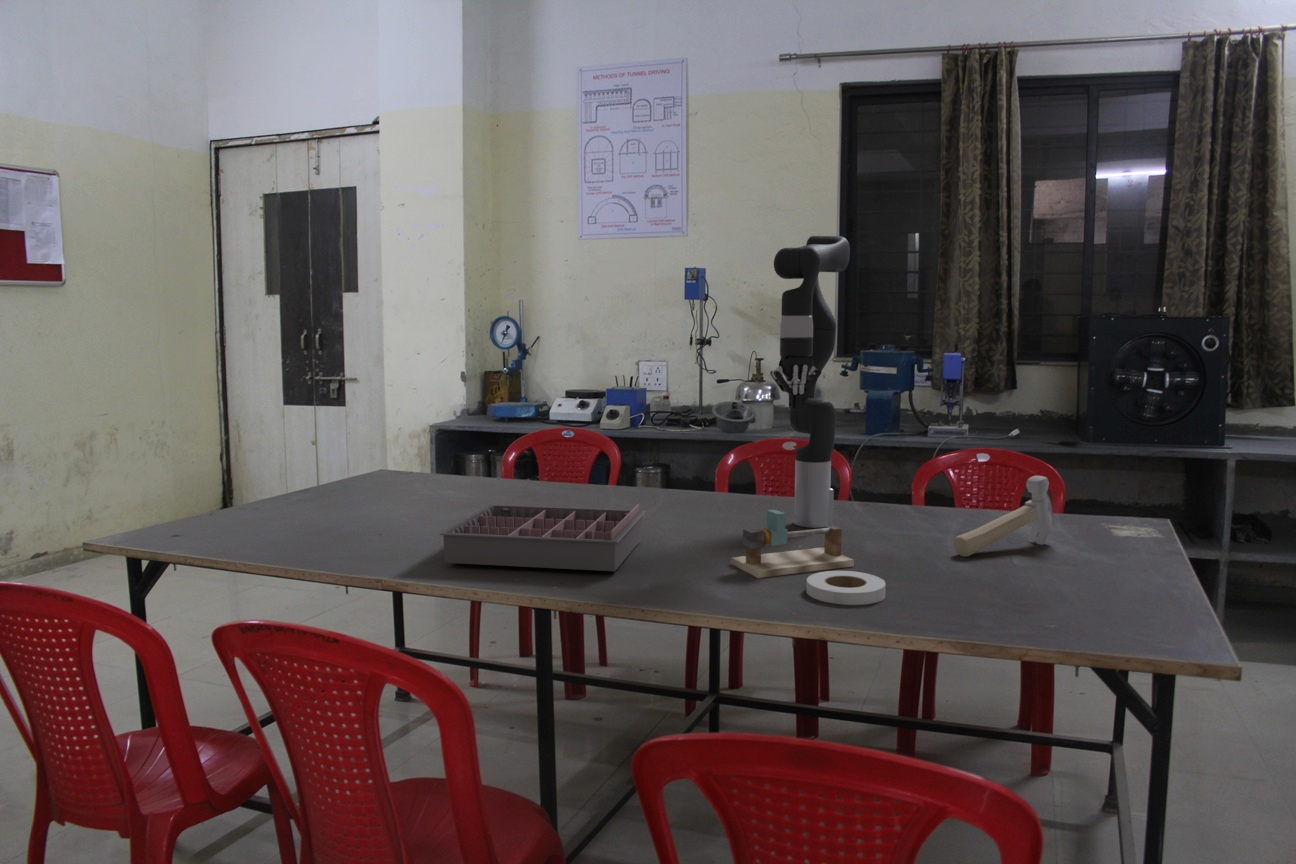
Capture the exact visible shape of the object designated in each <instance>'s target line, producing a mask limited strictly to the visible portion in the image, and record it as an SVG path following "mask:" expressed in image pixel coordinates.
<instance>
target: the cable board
mask: <svg viewBox="0 0 1296 864" xmlns="http://www.w3.org/2000/svg"><path fill="white" fill-rule="evenodd" d="M842 530H843V529H842V527H838V526H836V525H834V524H833V525H829V526H825V527H821V528H813V529H812V528H811V529H804V530H795V531H788V533H787V539H788V538H795V537H806V536H807V537H808V536H816V535H824V547H814V548H813V547H812V548H805V549H804V548H803V549H795V550H787V551H780V552H779V551H778V552H771V553H770V552H769V553H762V549H764V548H765V546H770V545H769V544H770V543H771V533H770V531H769V530H768V529H764V528H762V529H759V528H757V527H751V528H743V530H742V532H743V533H742V546H744V547H745V555H743V556H733V557H731V559H730V560H731V561H730V562H731V566H734V567H736V568H738V569H739V570H741V571H744V572H745V573H747V574H749V575H751V576H753V577H755V578H757V579H761V578H769V577H778V576H785V575H792V574H802V573H810V572H811V573H812V572H818V571H829V570H832V569H833V570H834V569H841V568H843V569H844V568H851V567H854V566H855V565H854V564H855V560H854V558H850V557H848V556H846V555H844V554H842Z"/></svg>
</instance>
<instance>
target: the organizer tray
mask: <svg viewBox="0 0 1296 864" xmlns="http://www.w3.org/2000/svg"><path fill="white" fill-rule="evenodd" d="M646 513H647V511H646V510H640V503H637V504H636V505H635V506H634V507H633V508H632V509H609V508H585V507H582V508H581V507H560V506H559V507H556V506H554V507H553V506H533V505H532V506H531V505H530V506H529V505H510V504H507V505H506V504H505V505H503V504H490V505H488V506H486V507H484V508H482V509H480V510H479V511H477V512H475V513H474V514H472V515H470V516H469V517H466V518H465V519H463V520H462V521H459V522H458V523H456V524H454V525H453V526H451V527H449V528H447V529H445V530H444V531H442V532H440V533H439V536H442V537H443V563H444V564H445V563H447V564H464V565H465V564H466V565H480V566H481V565H484V566H503V567H521V568H522V567H523V568H525V567H526V568H543V569H544V568H545V569H562V570H580V571H582V570H583V571H585V570H586V571H598V572H599V571H600V572H601V571H602V572H606V571H607V572H616V571H617V570H618V568H619V567H620V566H621V565H622V564H623V562H624V561H625V560H626V558H628V557H629V555H630V553H632V551H633V550H634V549H635V548H636V546H637V545H638V544H639V543H640V542H641V541H642V539H643V535H644V534H643V532H644V530H643V529H644V528H643V527H644V524H643V523H644V521H643V520H644V518H643V517H644V515H645V514H646Z"/></svg>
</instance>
